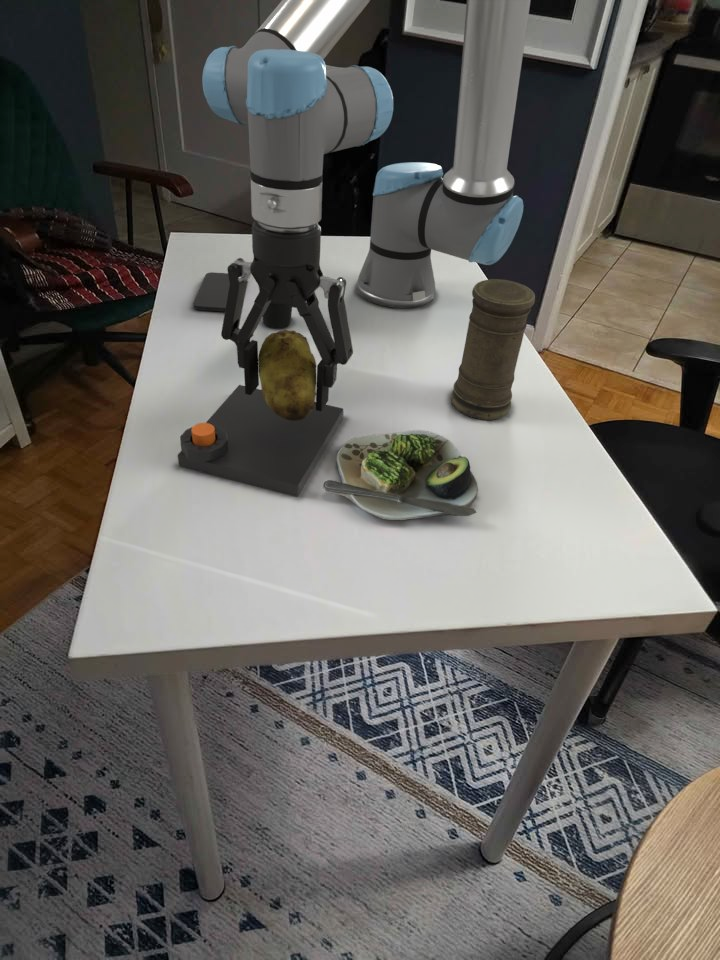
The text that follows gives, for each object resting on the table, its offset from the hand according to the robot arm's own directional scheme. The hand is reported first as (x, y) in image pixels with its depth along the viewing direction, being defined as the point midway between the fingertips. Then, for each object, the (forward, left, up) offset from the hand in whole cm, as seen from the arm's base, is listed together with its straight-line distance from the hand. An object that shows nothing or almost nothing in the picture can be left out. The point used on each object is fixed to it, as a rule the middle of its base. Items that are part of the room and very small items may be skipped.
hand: (286, 397), depth 84 cm
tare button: (+9, -8, -3) cm, 12 cm away
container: (-19, +24, -6) cm, 31 cm away
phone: (-37, -28, -6) cm, 47 cm away
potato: (0, 0, -1) cm, 1 cm away
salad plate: (+3, +18, -6) cm, 20 cm away
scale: (+2, -2, -6) cm, 7 cm away
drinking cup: (-31, -14, -6) cm, 34 cm away
